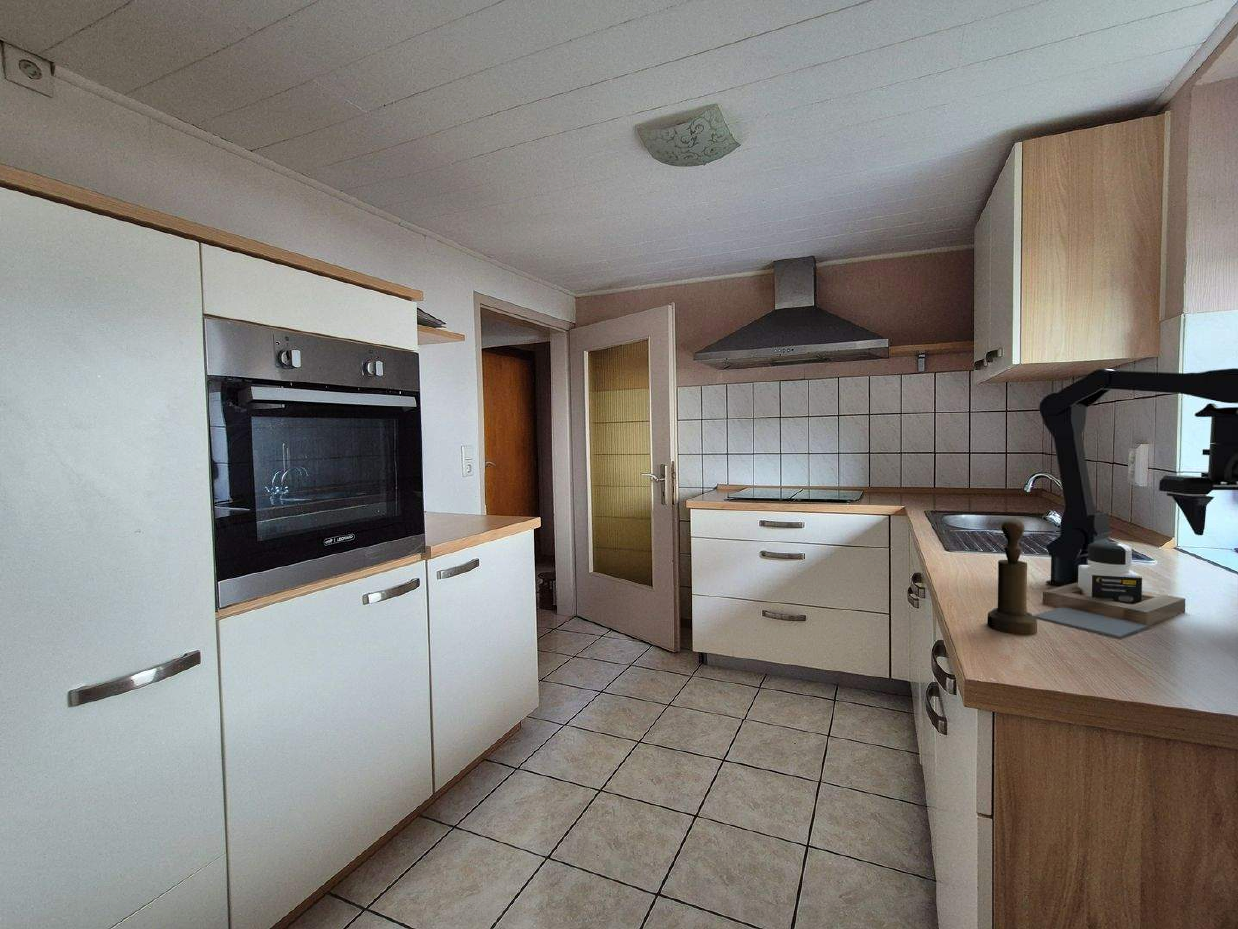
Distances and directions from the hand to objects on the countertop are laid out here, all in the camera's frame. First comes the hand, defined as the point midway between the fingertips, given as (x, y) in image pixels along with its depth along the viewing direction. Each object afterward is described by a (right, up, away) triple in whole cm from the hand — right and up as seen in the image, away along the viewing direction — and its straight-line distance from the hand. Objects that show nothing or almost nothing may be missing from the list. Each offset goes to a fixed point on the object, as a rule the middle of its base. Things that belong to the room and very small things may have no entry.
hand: (1228, 535), depth 98 cm
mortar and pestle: (-40, -15, -5) cm, 43 cm away
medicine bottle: (-15, -14, +7) cm, 22 cm away
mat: (-26, -14, -3) cm, 30 cm away
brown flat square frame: (-16, -14, +5) cm, 21 cm away
